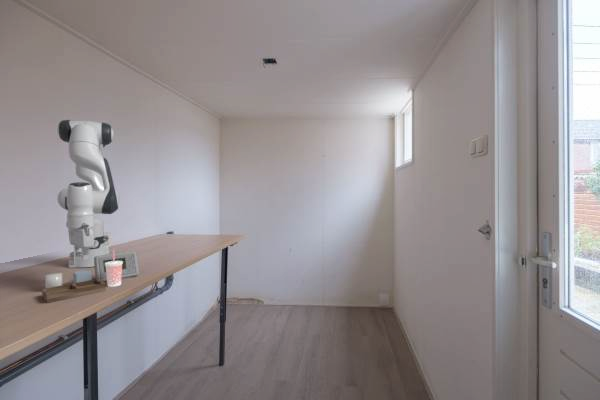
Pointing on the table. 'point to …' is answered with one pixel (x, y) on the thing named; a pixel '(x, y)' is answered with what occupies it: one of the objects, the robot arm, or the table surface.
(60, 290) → the organiser base
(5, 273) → the table surface
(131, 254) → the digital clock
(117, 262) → the beverage cup
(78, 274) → the blue cube
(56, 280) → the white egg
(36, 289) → the table surface
